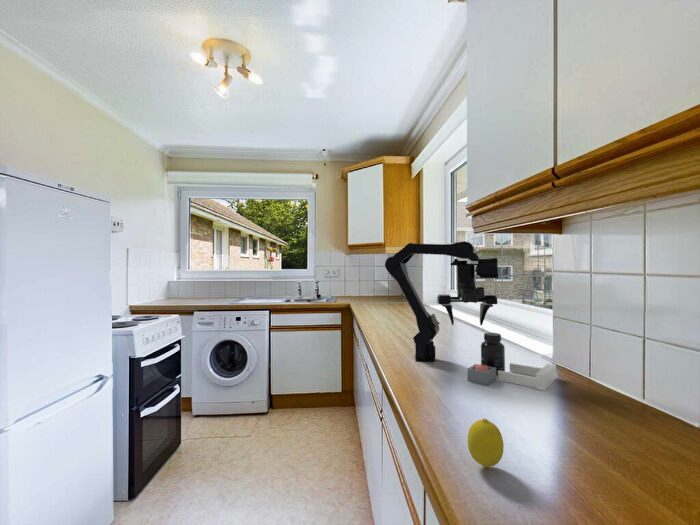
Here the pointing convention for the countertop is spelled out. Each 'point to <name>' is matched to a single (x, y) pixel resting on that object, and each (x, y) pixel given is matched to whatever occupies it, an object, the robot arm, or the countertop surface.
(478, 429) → the lemon
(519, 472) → the countertop surface
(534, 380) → the white u-shaped frame
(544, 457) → the countertop surface
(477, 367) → the plunger
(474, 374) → the plunger block
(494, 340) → the supplement bottle
